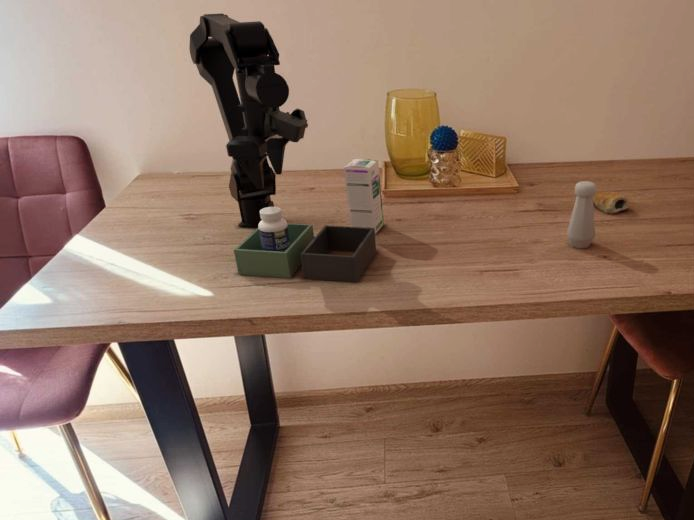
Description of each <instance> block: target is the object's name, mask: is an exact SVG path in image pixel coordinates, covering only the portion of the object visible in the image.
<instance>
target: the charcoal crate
mask: <svg viewBox="0 0 694 520" xmlns="http://www.w3.org/2000/svg"><path fill="white" fill-rule="evenodd" d="M330 250H334V251H348V252H354V253H352V255H343V254H328V252H329V251H330ZM376 253H377V243H376V234H375V229H374V228H364V227H351V226H347V225H329V224H328V225H324V226H323V227H322V228H321V229H320V230H319V232H318V233H317V234H316V235H314V239H313V240H312V241H311V242H310V243H309V245H308V246H307V247H306V248H305V249H304V250H303V251H302V253H301V254H300V256H301V263H302V264H301V269H302V276H303V279H305V280H317V281H334V282H349V283H357V282H358V281H359V279H360V278H361V276H362V275H363V273H364V272H365V270H366V269H367V267H368V265H369V263H370V262H371V260H372V259H373V257H374V256H375V255H376Z"/></svg>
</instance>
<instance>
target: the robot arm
mask: <svg viewBox="0 0 694 520" xmlns="http://www.w3.org/2000/svg"><path fill="white" fill-rule="evenodd" d="M199 16H200V17H199V24H198V25H197V26H196V28H194V30H193V31H192V32H191V33H190V35H189V47H188V48H189V54H190V58H191V61H192V64H193V65H195V66H196V68H197V71H198V74H199V76H200V77H201V78H202V79H204V81H206V82H207V83H208V84H209V85H210V86H211V88H212V91H213V96H214V98H215V101H216V103H217V107H218V110H219V113H220V117H221V119H222V123H223V125H224V129H225V132H226V134H227V137H228V142H227V144H226V145H225V147H226V152H227V156H228V157H230V158H232V161H231V165H230V172H231V173H230V176H229V182H228V189H229V192H230V195H231V197H232V198H233V199H234V200H235V201H236V202H237V204H238V209H239V214H240V219H241V221H240V222H239V223H238V227H243V228H256V229H257V228H258V225H259V222H260V221H261V220H262V219H261V217H260V210H261V209H263V208H266V207H275V204H274V201H273V200H272V198H271V196H276V194H277V193H276V192H277V184H276V176H277V175H278V176H279V175H282V174H283V165H284V158H285V151H286V146H287V145H288V143H290V142H291V143H299V141H300V140H301V139H302V140H303V139H304V137H305V132H306V129H307V128H308V127H309V124H308V119H307V118H306V114H305V111H304V110H303V109H300V108H295V109H294V110H293V111H291V113H290V112H289V111H286V112H284V111H282V110H280V107H282V106H284V105H285V104H286V102H287V100H288V99H289V95H290V88H289V84H288V83H287V80H286V79H285V78H284V76H283V75H281V74H279V73H277V72H276V69H275V66H280V65H281V62H280V53H279V50H278V48H277V46H276V43H275V41H274V39H273V36H272V35H271V33H270V31H269V29H268V28H267V27H266V26H265V24H264V23H263V22H261V20H260V21H259V20H257V21H243V22H242V21H239V20H236V19H233V18H231V17H229V15H228V14H224V13H204V14H203V15H199ZM234 74H235V77H236V78H235V79H236V84H237V87H238V90H237V87H236V84H235V81H234ZM268 160H269V161H268ZM269 162H270V164H271V166H270V164H269Z"/></svg>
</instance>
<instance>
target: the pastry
mask: <svg viewBox="0 0 694 520" xmlns="http://www.w3.org/2000/svg"><path fill="white" fill-rule="evenodd" d="M593 204H594V206H596V208H597V209H599V210H600V211H602V212H603V213H605V214H611V215H613V214H616V213H619V212H621V211H625V210H627V209H628V208H629V206H630V201H629V198H627V196H626V195H625V196H624V195H622V194H620V193H619V192H616V191H597V192H596V195H595V196H593Z"/></svg>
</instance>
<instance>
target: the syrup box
mask: <svg viewBox="0 0 694 520" xmlns="http://www.w3.org/2000/svg"><path fill="white" fill-rule="evenodd" d="M379 165H380V164H379V160H377V159H372V158H353V159H352V161H350V162H349V163H347V164H346V165H344V166H343V172H344V182H345V191H346V199H347V207H348V215H349V217H348V218H349V224H350V227H364V228H374V229H375V235H376V234H377V233H378V232H379V230H380V229H381V228H382V227H383V226H384V225H385V221H384V211H383V210H384V209H383V198H382V186H381V178H380V177H381V176H380V166H379Z"/></svg>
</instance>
